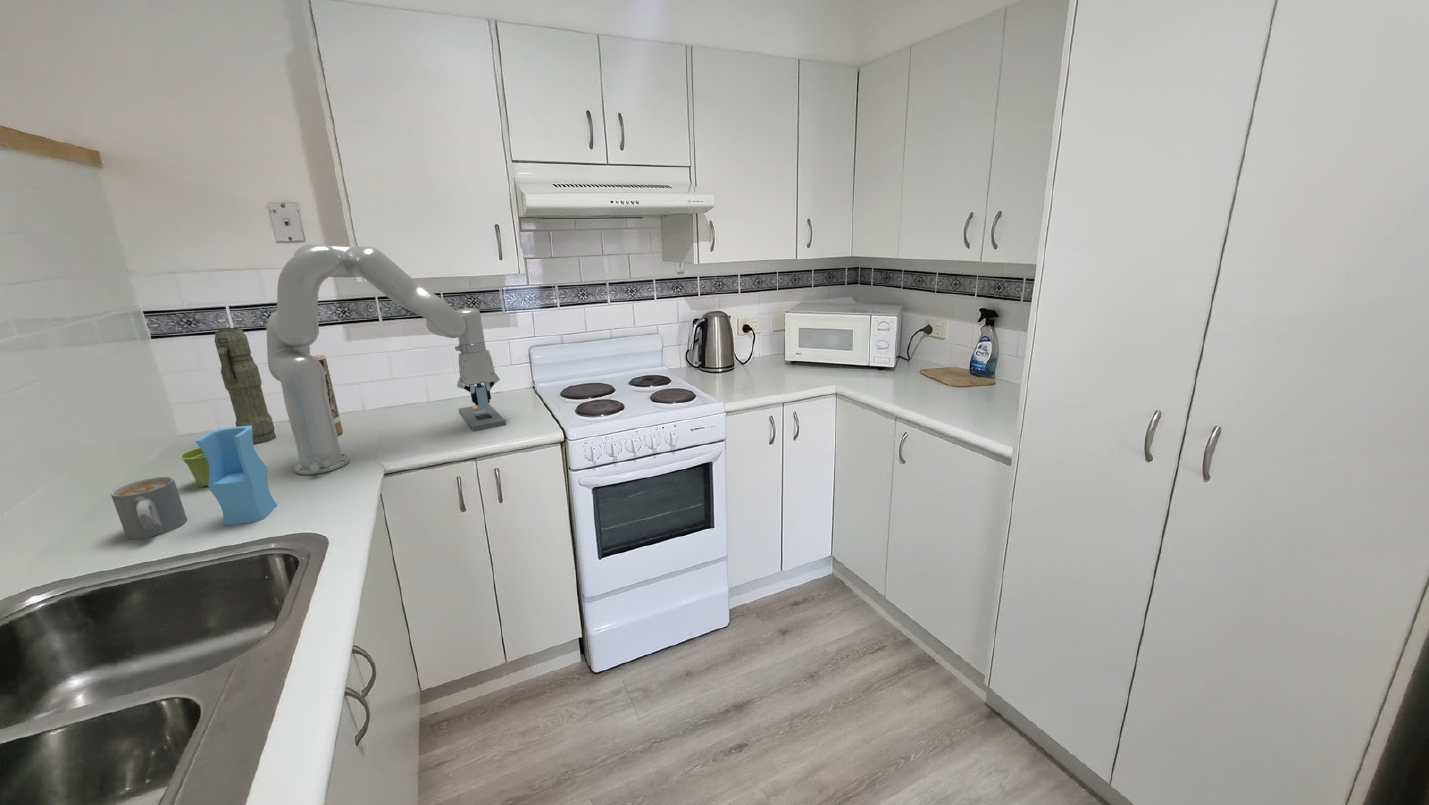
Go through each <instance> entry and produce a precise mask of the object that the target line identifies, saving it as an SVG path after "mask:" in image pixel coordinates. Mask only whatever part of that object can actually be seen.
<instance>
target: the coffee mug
mask: <svg viewBox="0 0 1429 805" xmlns="http://www.w3.org/2000/svg"><path fill="white" fill-rule="evenodd" d="M110 496H111V499H112V501H113V504H114V507H115V510H116V513H117V515H118V519H119V520H120V524H121V526H122V529H123V532H124V534H125V537H126V538H127V539H130V540H142V539H147V538H153V537H157V536H161V535H163V534H167V533H169V532H173V531H175V530H176V529H178V528H180V527H182V526H183V525H185V524H186V523H187V521H188V517H187V515H186V512H185V509H184V508H185V507H184V505H183V503H182V499H181V497H180V494H179V491H178V488H177V485H176V481H175V479H174V477H172V476H156V477H149V478H144V479H140V480H136V481H132V482H129V483H127V484H124V485H121V486H119V487H117V488H115V489H114V490H112V491H111V493H110Z"/></svg>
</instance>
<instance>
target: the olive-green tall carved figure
mask: <svg viewBox="0 0 1429 805" xmlns="http://www.w3.org/2000/svg"><path fill="white" fill-rule="evenodd" d="M214 344H215V347H216V351H217V355H218V358H219V361H220V365H221V369H220V374H221V377H222V381H223V384H224V388H225V390H226V391H227V393H228V394H229V398H230V401H231V405H232V408H233V412H234V415H235V427H241V426H252V439H253V445H259V444H264V443H267V442H270V441H272V440H275V439H276V437H277V436H276V433H275V425H274V422H273V418H272V416H271V414H270V413H269V411H268V408H267V404H266V400H265V396H264V393H263V389H262V382H263V381H262V379H261V375H260V371H259V367H258V365H257V364H256V363H255V361H254V357H252V351H251V347H250V343H249V341H248V337H247V335H246V334H245V332H244V330H242V328H239V327H227V328H226V327H225V328H220V329H218V330H217V331H215V333H214Z"/></svg>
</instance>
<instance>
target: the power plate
mask: <svg viewBox="0 0 1429 805" xmlns="http://www.w3.org/2000/svg"><path fill="white" fill-rule="evenodd" d="M488 405H489V408H485V409H480V410H479V409H478V407H477V406H476V405H470V406H465V407H461V408H458V414H460V416H461V417H462V419H463V420H464V422H466V424H467V425H468V426H469V427H470V429H471V430H472V431H473V432H477V431H482V430H488V429H493V428H498V427H501V426H506V425H507V422H506V419H505V418H504V417H503V416H502V415H501V414H500V413H499V412H498V411H497V410H496V409H495V408H494V407H493V406H492V405H491V404H490V403H488Z"/></svg>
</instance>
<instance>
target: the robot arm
mask: <svg viewBox="0 0 1429 805" xmlns="http://www.w3.org/2000/svg"><path fill="white" fill-rule="evenodd" d="M328 278H363V280H365V281H367V282H368V283H369V285H371V286H373V287H374V288H376V289H377V291H379V292H381V293H382V294H383V295H385V297H387V298H388V299H389V300H390V301H392V302H393V303H395V304H396V305H398V306H400V307H402V308H403V309H406V310H408V311H411V312H413V313H415V314H417V315H419V316H421V317H422V318H424V319H425V324H426V328H427V330H429V332H431V333H432V334H433V335H435V336H440V337H443V338H444V337H445V338H448V339H449V338H450V339H456V338H457V339H458V345H457V346H454V350H455V352H460V353H458V370H459V379H458V381H457V384H456V387H457V388H459V389H462V390H465V391H467V392H468V393H470V397H471V402H472V403H474V406H476V405H478V400H477V394H476V393H475V391H474V386H475V385H477V384H480V383H481V384H483V385H484V386H485V387H486V392H487V398H488V403H489V404H490V403H491V401H490V400H492V396H491V390H492V388H493V387H494V385H495V384H497V383H498V382H499V381H500V377H499V376H498V375H497V374H496V372H495V367H494V361H493V359H492V355H491V353H490V351H489V349H487V347H486V341H485V335H484V330H483V329H484V328H483V323H482V317H481V312H480V310H479V309H478V308H475V307H474V308H473V307H472V308H471V307H470V308H467V307H466V308H462V309H457V310H455V309H454V307H452V306H451V305H450V304H449V303H448V302H446V301H445V300H444V299H442V298H441V297H440V296H438V295H436V294H435V292H434V293H433V292H432V291H431V290H429V289H428V288H426V287H425V286H424V285H422V284H421V283H419V282H418V281H417V280H415V279H414V278H413V277H412V276H411V275H409V274H408V273H407V272H405V271H404V270H403V269H402V268H401V267H399V266H398V265H397V264H396V263H395V262H394V261H392V260H391V259H390V257H388V256H387V255H386V254H384V253H383V252H382V251H380V250H379V249H377V248H375V247H373V246H364V245H363V246H338V245H337V246H335V245H328V244H327V245H326V244H320V243H317V244H316V243H315V244H305V245H302V246H300V247H298V248H297V249H296V250H295V252H294V254H293V256H292V257H291V258H290V259H289V260H288V261H287V262H286V263H285V264H284V266H283V268H282V269H281V272H280V273H279V276H278V280H277V288H276V289H277V290H276V291H277V292H276V295H277V296H276V310H275V311H274V312H272V314H271V315H270V316H269V318H268V320H267V322H266V323H267V324H266V350H267V352H266V353H267V366H268V369H269V372H270V375H271V376H272V377H273V378H274V379H275V380H277V381H279V382H280V385H281V388H282V395H283V400H284V406H285V410H286V413H287V417H288V420H289V424H290V428H291V431H292V436H293V439H294V443H295V444H294V445H295V447H296V451H297V454H298V459H299V462H298V463H297V464H295V466H294V470H295V473H296V474H299V475H303V476H304V475H306V476H308V475H309V476H310V475H317V474H323V473H327V472H332V471H335V470H337V469H339V468H342V467H344V466H346V465H348V464H349V462H350V456H349V455H348V454H346V453H342V450H341V449H342V448H341V446H340V442H339V438H338V435H337V433H336V428H335V424H334V420H333V416H332V411H331V408H330V404H329V399H328V394H327V388H326V378H325V372H324V369H323V367H322V365H321V363H320V362H319V361H318V360H317V359H316V358H315V357H313V356H314V355H312V354H311V345H312V344H314V343H315V342H316V341H317V339H318V338H319V335H320V334H319V333H320V332H319V331H320V325H319V307H318V306H319V302H318V301H319V292H320V287H322V286H321V285H322V284H323V283H324V281H325V280H327V279H328Z"/></svg>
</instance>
